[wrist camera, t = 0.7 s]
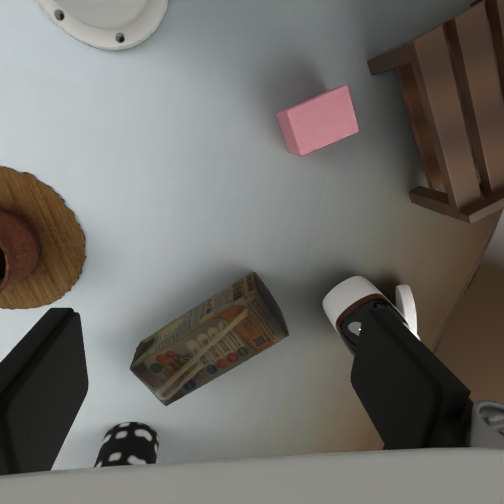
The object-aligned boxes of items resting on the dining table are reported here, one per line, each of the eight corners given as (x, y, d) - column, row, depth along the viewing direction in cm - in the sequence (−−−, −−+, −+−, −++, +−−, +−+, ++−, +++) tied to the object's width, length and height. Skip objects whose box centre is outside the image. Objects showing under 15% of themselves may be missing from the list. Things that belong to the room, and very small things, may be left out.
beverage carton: (135, 340, 45) (123, 373, 39) (254, 266, 43) (261, 288, 37) (171, 377, 48) (165, 413, 42) (283, 309, 46) (295, 337, 40)
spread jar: (309, 293, 46) (339, 344, 35) (377, 244, 44) (431, 282, 33) (352, 347, 50) (391, 408, 39) (415, 304, 48) (475, 355, 38)
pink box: (275, 113, 37) (286, 110, 32) (328, 90, 37) (347, 84, 32) (289, 152, 39) (301, 156, 34) (339, 131, 39) (359, 131, 33)
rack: (366, 60, 36) (423, 35, 27) (484, -4, 35) (587, -55, 26) (411, 202, 43) (470, 224, 33) (512, 150, 42) (603, 157, 32)
